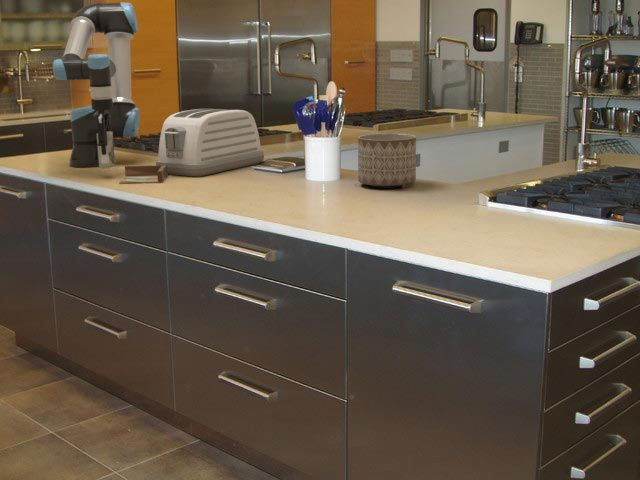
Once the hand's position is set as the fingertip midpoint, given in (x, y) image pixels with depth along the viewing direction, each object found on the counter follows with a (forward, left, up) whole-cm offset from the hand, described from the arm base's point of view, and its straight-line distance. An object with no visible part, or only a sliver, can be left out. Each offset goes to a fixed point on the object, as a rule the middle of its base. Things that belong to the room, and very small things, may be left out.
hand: (106, 161), depth 326 cm
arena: (+9, +14, -6) cm, 17 cm away
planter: (+34, +99, -6) cm, 105 cm away
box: (0, 0, -2) cm, 2 cm away
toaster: (-15, +36, -6) cm, 40 cm away
